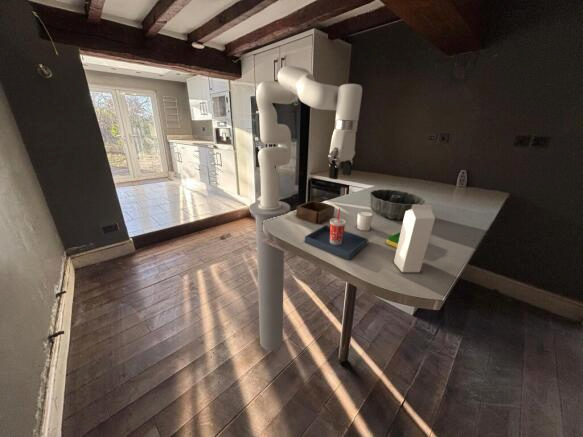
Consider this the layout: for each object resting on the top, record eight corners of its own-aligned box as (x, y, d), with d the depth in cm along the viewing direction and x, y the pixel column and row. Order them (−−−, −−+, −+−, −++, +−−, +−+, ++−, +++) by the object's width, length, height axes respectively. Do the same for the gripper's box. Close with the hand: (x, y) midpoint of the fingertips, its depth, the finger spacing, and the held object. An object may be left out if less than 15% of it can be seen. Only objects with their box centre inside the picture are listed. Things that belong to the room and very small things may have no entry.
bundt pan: (420, 211, 128) (424, 193, 124) (420, 228, 107) (425, 207, 103) (371, 203, 139) (374, 186, 136) (362, 217, 118) (365, 198, 114)
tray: (304, 242, 91) (305, 236, 90) (325, 230, 102) (325, 224, 101) (348, 259, 80) (349, 253, 79) (366, 244, 91) (367, 238, 90)
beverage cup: (344, 239, 93) (348, 206, 88) (343, 246, 88) (347, 212, 82) (328, 237, 94) (332, 205, 89) (326, 244, 89) (330, 210, 84)
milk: (419, 272, 74) (439, 208, 66) (401, 272, 74) (418, 208, 65) (410, 261, 80) (426, 201, 71) (393, 261, 80) (407, 201, 71)
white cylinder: (366, 224, 109) (368, 210, 106) (374, 230, 103) (376, 216, 100) (353, 225, 108) (355, 211, 105) (360, 231, 102) (362, 216, 99)
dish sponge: (420, 241, 95) (421, 235, 94) (403, 251, 87) (404, 245, 86) (403, 234, 100) (404, 229, 99) (386, 243, 92) (387, 238, 91)
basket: (295, 216, 116) (295, 206, 114) (311, 209, 126) (312, 200, 124) (318, 224, 107) (319, 213, 105) (334, 216, 117) (335, 206, 115)
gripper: (348, 126, 86) (342, 171, 93) (322, 125, 74) (318, 178, 81) (367, 127, 82) (360, 175, 89) (343, 126, 70) (336, 182, 76)
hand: (340, 176), depth 85 cm, fingers open, 9 cm apart
